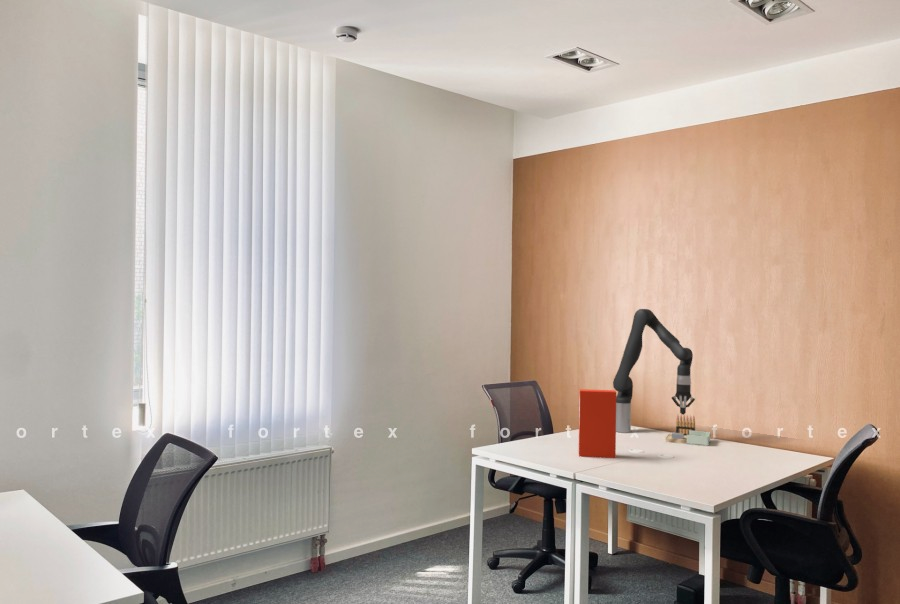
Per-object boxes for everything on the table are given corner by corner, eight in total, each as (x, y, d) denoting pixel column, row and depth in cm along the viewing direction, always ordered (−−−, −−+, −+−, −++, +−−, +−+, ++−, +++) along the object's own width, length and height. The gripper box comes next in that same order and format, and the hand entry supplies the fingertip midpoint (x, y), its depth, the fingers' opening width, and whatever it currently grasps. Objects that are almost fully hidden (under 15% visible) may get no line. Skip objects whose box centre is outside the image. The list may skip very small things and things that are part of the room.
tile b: (671, 438, 365) (671, 433, 365) (672, 436, 369) (672, 432, 369) (683, 439, 362) (683, 434, 362) (683, 437, 367) (683, 433, 367)
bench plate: (665, 441, 365) (665, 438, 365) (668, 437, 378) (668, 434, 378) (686, 443, 360) (686, 440, 360) (689, 439, 373) (689, 435, 373)
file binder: (615, 458, 320) (616, 392, 321) (579, 456, 323) (580, 390, 324) (614, 454, 328) (614, 390, 329) (578, 453, 331) (579, 389, 332)
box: (686, 444, 359) (686, 434, 360) (689, 439, 374) (689, 430, 374) (708, 446, 355) (708, 436, 355) (710, 441, 369) (710, 432, 369)
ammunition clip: (695, 436, 385) (695, 415, 385) (695, 436, 383) (695, 415, 383) (676, 434, 389) (676, 414, 389) (675, 435, 387) (675, 414, 388)
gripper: (670, 383, 371) (669, 414, 371) (695, 384, 366) (694, 416, 365) (671, 382, 378) (671, 412, 378) (696, 383, 372) (695, 414, 372)
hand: (682, 414), depth 372 cm, fingers closed
